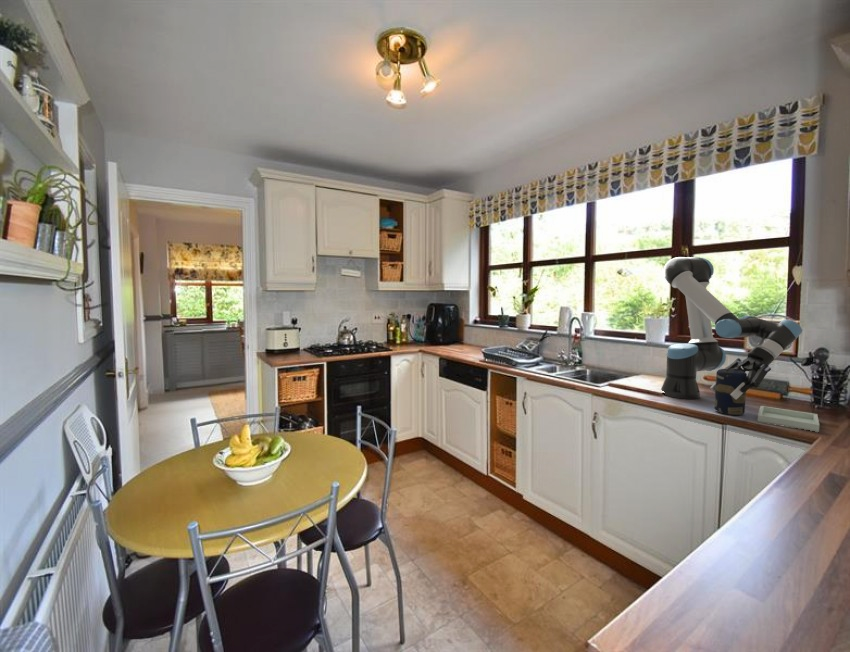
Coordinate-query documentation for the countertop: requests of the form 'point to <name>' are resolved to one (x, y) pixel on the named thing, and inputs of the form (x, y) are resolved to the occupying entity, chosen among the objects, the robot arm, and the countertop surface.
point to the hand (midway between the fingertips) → (722, 393)
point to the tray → (789, 418)
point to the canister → (729, 391)
